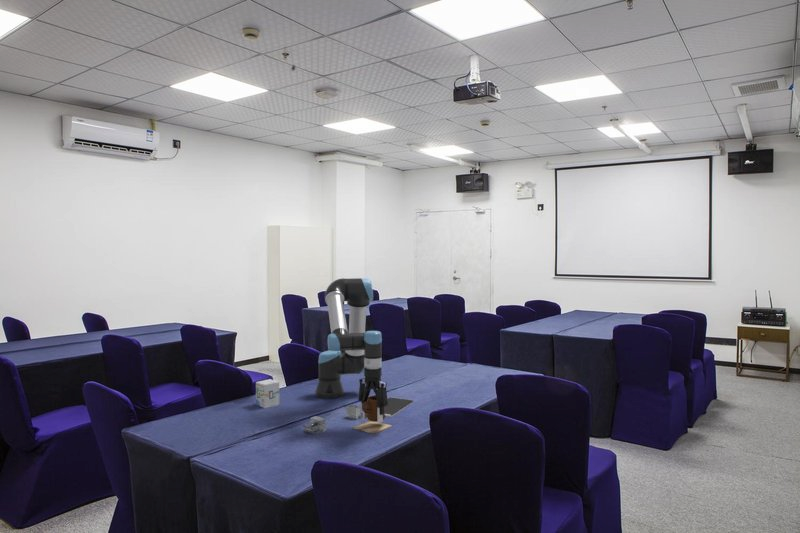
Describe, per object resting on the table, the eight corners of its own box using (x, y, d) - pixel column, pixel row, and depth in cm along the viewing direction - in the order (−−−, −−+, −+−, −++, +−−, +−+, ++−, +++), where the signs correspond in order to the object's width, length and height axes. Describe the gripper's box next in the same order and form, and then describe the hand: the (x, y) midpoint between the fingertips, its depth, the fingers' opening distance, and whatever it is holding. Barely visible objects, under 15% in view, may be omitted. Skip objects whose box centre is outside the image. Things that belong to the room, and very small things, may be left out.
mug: (368, 425, 210) (368, 403, 210) (356, 421, 215) (356, 400, 215) (388, 419, 219) (388, 397, 219) (375, 415, 224) (376, 394, 224)
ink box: (255, 404, 250) (255, 381, 250) (270, 401, 256) (270, 378, 256) (264, 408, 244) (264, 384, 244) (279, 404, 250) (279, 381, 250)
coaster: (353, 428, 216) (353, 427, 216) (371, 421, 226) (371, 420, 226) (374, 434, 209) (374, 433, 209) (392, 426, 218) (392, 425, 218)
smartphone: (365, 415, 236) (365, 411, 236) (390, 399, 261) (390, 396, 261) (390, 419, 231) (390, 415, 231) (413, 403, 255) (413, 399, 255)
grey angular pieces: (300, 432, 211) (300, 420, 210) (354, 413, 237) (354, 402, 237) (312, 436, 206) (312, 423, 206) (366, 416, 232) (366, 405, 232)
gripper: (349, 365, 220) (349, 417, 220) (385, 372, 208) (385, 427, 208) (361, 362, 226) (361, 413, 226) (396, 368, 213) (396, 422, 214)
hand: (372, 419), depth 217 cm, fingers closed on mug, 7 cm apart
